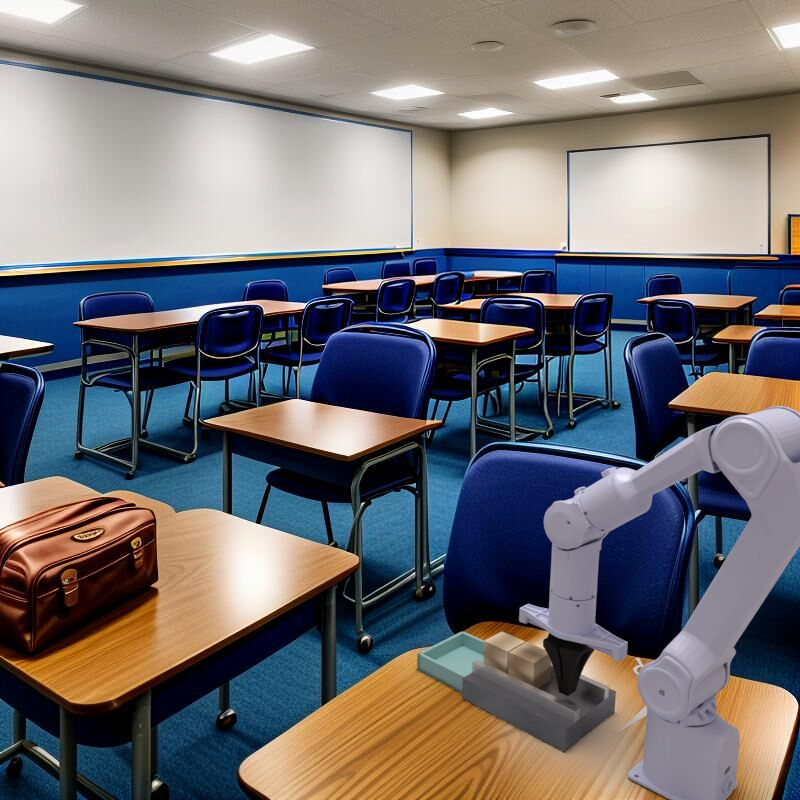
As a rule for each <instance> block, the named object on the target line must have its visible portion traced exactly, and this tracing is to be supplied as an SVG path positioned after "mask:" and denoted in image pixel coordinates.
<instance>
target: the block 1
mask: <svg viewBox="0 0 800 800" xmlns="http://www.w3.org/2000/svg"><path fill="white" fill-rule="evenodd" d="M483 641H484V658H483V663H485V664H487V665H490V666H492V667H494V668H496V669H498V670H500V671H502V672H504V673H506V674H508V664H509V652H510V651H512V650H513V649H515V648H517V647H519V646H520V645H522V644H524V643H526V641H525V640H523V639H521V638H518V637H516V636H513V635H511V634H509V633H508V632H507V633H506V632H504V631H500V632H498V633H496V634H494V635H493V636H491V637H489V638H486V639H485V640H483Z"/></svg>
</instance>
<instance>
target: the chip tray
mask: <svg viewBox="0 0 800 800" xmlns="http://www.w3.org/2000/svg"><path fill="white" fill-rule="evenodd" d="M484 641H485V640H484V639H481V638H479V637H476V636H475V635H472V634H470V633H467V632H466V631H460V632H458V633H456V634H454V635H451V636H450V637H448V638H446V639H444V640H442V641H440V642H438V643H436V644H434V645H432V646H430V647H428V648H425V649H424V650H422V651H420V652H417V662H416V663H417V664H416V666H417V667H416V669H417V671H419V672H421V673H423V674H425V675H426V676H429V677H430V678H432V679H434V680H436V681H439V682H440V683H442V684H444V685H446V686H447V687H450V688H452V689H453V690H456V691H457V692H459V693H461V694H462V685H463V677H465V676H467V675H469V674H470V673H472V664H473V662H474V661H476V660H479V661H481V662H483V658H484Z"/></svg>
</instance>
